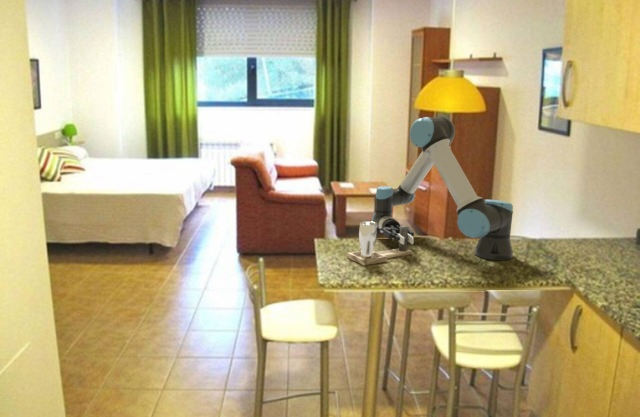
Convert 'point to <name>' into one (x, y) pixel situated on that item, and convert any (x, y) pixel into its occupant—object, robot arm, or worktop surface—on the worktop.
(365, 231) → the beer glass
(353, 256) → the wooden peg stand
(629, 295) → the worktop surface
